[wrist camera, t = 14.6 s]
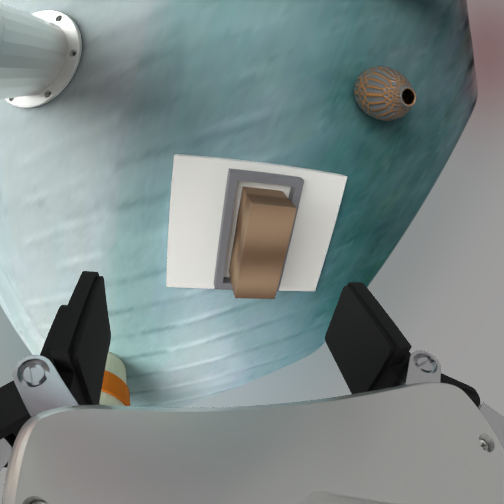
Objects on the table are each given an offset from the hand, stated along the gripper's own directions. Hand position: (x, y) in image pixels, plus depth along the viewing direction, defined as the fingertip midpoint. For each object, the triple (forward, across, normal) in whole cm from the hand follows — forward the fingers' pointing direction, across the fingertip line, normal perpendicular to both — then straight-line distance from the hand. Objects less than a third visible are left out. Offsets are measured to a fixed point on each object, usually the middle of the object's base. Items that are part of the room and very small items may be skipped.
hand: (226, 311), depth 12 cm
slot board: (+28, -8, +9) cm, 31 cm away
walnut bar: (+27, -8, +9) cm, 30 cm away
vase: (+28, -20, -12) cm, 37 cm away
